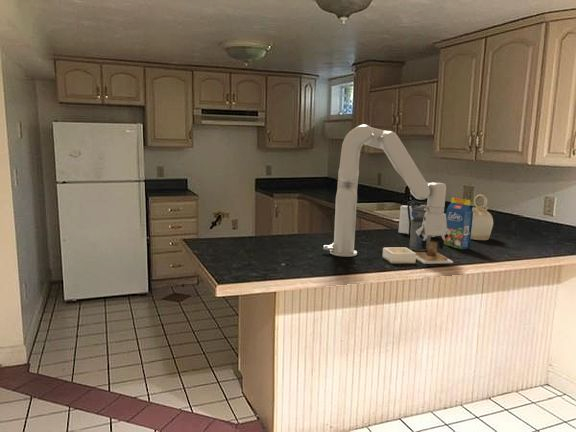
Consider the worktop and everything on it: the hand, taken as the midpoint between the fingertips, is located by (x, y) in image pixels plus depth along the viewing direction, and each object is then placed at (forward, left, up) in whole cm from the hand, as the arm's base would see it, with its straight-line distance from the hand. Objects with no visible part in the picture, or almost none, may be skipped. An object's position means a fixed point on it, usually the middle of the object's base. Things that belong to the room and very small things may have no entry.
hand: (432, 248), depth 211 cm
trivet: (0, 0, -5) cm, 5 cm away
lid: (0, 0, -4) cm, 4 cm away
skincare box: (+19, +55, -6) cm, 58 cm away
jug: (+50, +44, -6) cm, 67 cm away
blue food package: (+26, +24, -6) cm, 36 cm away
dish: (-16, -1, -5) cm, 17 cm away
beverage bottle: (+2, +18, -5) cm, 19 cm away
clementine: (-16, -1, -4) cm, 17 cm away
